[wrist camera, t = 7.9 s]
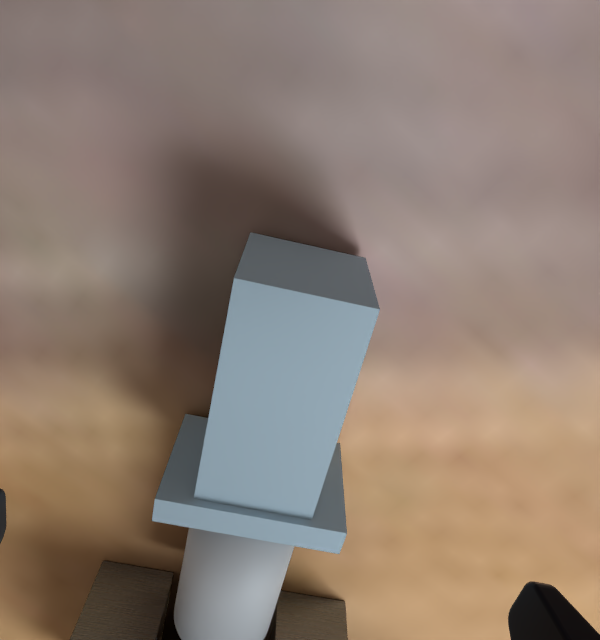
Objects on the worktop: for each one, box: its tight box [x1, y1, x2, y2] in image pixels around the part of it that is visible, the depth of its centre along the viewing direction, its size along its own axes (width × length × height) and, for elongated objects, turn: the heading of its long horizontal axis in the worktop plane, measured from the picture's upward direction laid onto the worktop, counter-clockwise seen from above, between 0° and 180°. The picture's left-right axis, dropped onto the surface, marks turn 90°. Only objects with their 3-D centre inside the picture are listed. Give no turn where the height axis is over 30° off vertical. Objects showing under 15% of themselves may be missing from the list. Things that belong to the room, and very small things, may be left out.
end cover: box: [152, 232, 380, 640], centre depth 19 cm, size 16×6×5 cm, turn 167°
